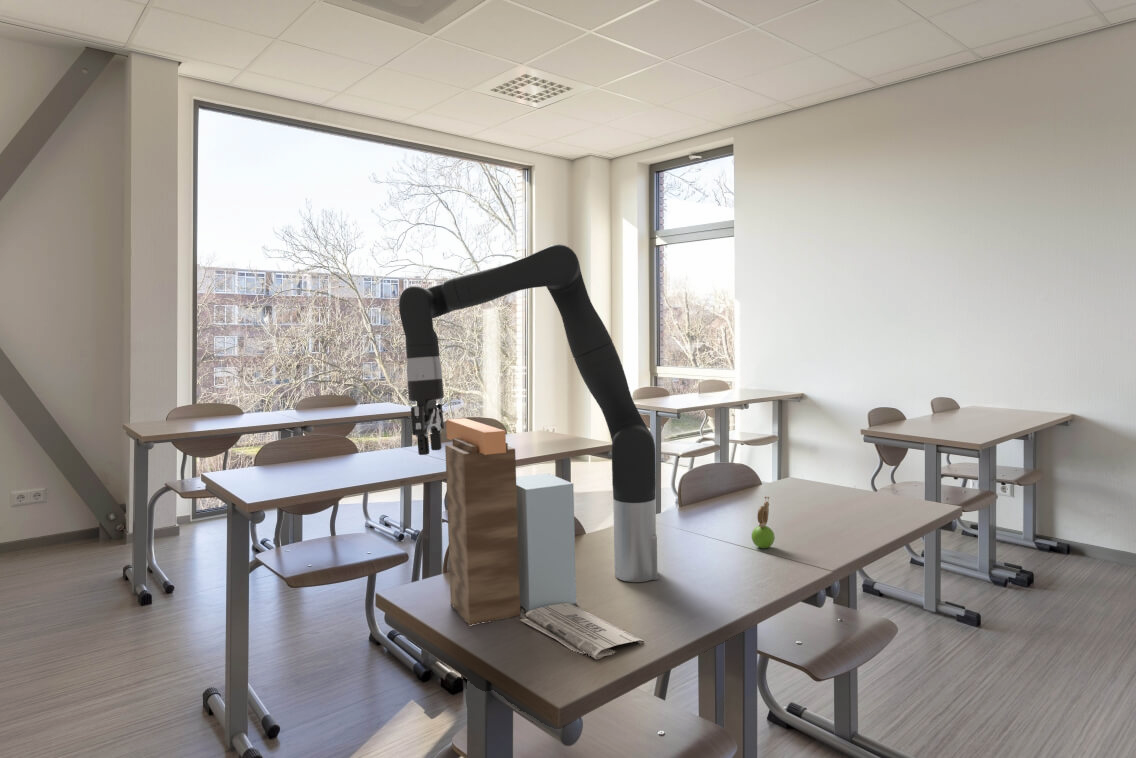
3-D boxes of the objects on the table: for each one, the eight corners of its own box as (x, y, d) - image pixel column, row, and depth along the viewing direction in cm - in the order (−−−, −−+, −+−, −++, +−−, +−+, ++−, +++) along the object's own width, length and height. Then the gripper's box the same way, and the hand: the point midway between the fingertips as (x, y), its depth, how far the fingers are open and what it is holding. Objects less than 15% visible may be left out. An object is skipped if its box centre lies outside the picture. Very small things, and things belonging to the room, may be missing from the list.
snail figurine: (778, 545, 170) (778, 497, 169) (771, 552, 165) (770, 503, 164) (756, 542, 173) (756, 495, 172) (748, 549, 168) (748, 500, 167)
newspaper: (517, 624, 129) (517, 610, 129) (570, 614, 136) (571, 601, 136) (589, 669, 110) (590, 653, 110) (647, 655, 117) (647, 640, 117)
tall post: (450, 604, 137) (445, 439, 135) (497, 594, 142) (492, 434, 140) (469, 626, 127) (463, 447, 125) (520, 615, 131) (515, 442, 129)
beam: (447, 438, 145) (446, 419, 145) (465, 436, 147) (464, 418, 146) (485, 454, 123) (484, 432, 123) (506, 452, 125) (505, 430, 125)
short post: (507, 592, 143) (503, 478, 141) (550, 584, 147) (547, 473, 146) (529, 613, 132) (526, 489, 130) (576, 603, 136) (573, 483, 135)
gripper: (431, 377, 143) (437, 455, 143) (450, 376, 157) (456, 447, 157) (396, 380, 144) (402, 457, 144) (419, 379, 158) (424, 449, 158)
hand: (430, 452), depth 151 cm, fingers open, 8 cm apart
